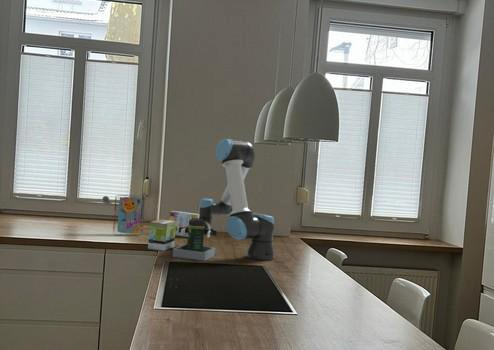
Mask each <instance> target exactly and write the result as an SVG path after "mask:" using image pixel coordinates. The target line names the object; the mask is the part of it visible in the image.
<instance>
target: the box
mask: <svg viewBox="0 0 494 350" xmlns="http://www.w3.org/2000/svg"><path fill="white" fill-rule="evenodd" d="M114 199H115V200H114V214H113V215H114V216H113V225H112V226H113V227H112V230H113V235H115V236H116V237H117V236H118V234H117V233H119V234H120V236H123V234H128V236H134V237H137V236H138V237H139V235H142V234H143V232H144V231H143V230H144V229H141V228H143V226H144V220H145V219H144V211H145V205H146V204H145V203H146V202H145V196H142V195H138V197H137V196H135V195H134V194H133V195H132V194H131V195H129V194H126V195H125V194H117V196H115V198H114ZM117 199H118V202H117ZM102 203H103V204H105V205H109V204H110V205H112V204H113V202H111V201H110V197H108V196H107V195H104V196H103V197H102ZM117 208H118V209H117ZM116 212H117V214H116ZM116 219H117V222H116ZM115 228H116V231H117V233H116V231H115ZM140 229H141V232H140ZM115 233H116V234H115ZM122 233H123V234H122ZM135 233H140V234H135Z"/></svg>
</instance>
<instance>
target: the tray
mask: <svg viewBox="0 0 494 350" xmlns="http://www.w3.org/2000/svg"><path fill="white" fill-rule="evenodd" d="M216 250H217V249H216V247H212V246H204V245H203V252H198V251H190V250H187V243H185V244H183V245H182V244H181V245H180V246H177V247H173V249H172V257H173V258H182V259H188V260H189V259H190V260H196V261H203V262H204V261H207V260H208V259H211V258H213V257H215V256H216Z"/></svg>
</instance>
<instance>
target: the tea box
mask: <svg viewBox="0 0 494 350" xmlns="http://www.w3.org/2000/svg"><path fill="white" fill-rule="evenodd" d="M175 230H176V221H169V219H168V220H166V219H158V220H153V221H150V223H149V231H148V232H149V233H148V243H147V249H149V250H156V251H163V252H164V251H167V250H169V249H172V248H175V242H176V240H175V239H176V235H175Z"/></svg>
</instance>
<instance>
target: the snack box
mask: <svg viewBox="0 0 494 350" xmlns="http://www.w3.org/2000/svg"><path fill="white" fill-rule="evenodd" d="M192 218H199V213H193V212H187V211H186V212H185V211H177V210H171V211H169V216H168V220H169V221H176V230H175V236H178V237H179V236H180V237H185V238H186V237H187V238H188V233H185V234H183V235H181V233H179V228H180V227H188V226H189V220H190V219H192Z"/></svg>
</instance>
